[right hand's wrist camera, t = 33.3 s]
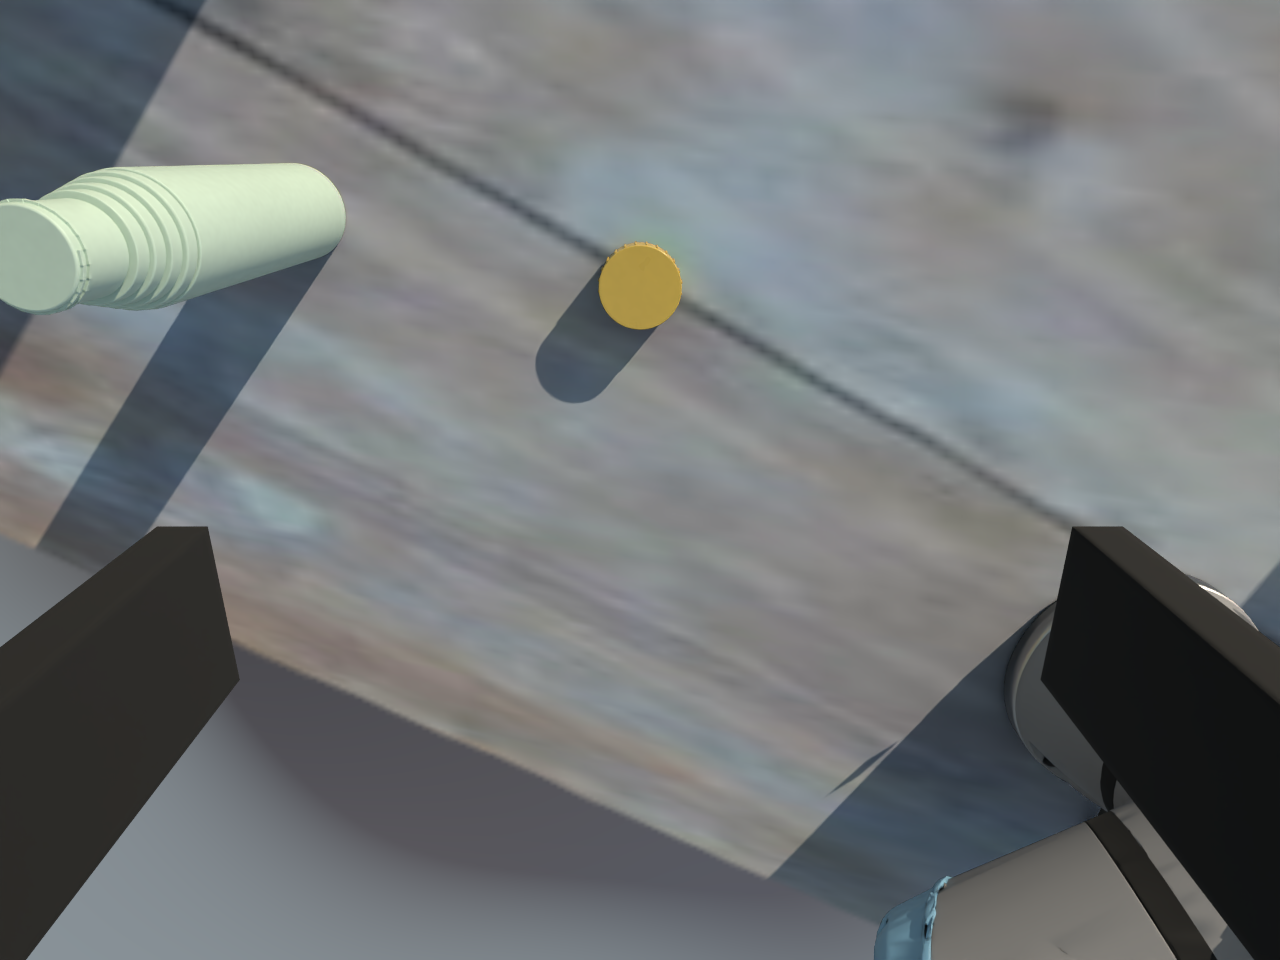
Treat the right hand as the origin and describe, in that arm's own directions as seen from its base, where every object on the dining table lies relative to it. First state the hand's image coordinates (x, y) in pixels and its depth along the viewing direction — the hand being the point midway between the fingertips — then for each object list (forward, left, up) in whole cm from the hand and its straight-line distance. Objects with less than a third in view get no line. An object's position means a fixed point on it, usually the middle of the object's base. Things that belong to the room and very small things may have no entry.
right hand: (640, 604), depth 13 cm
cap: (0, 0, -32) cm, 33 cm away
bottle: (+3, +18, -34) cm, 38 cm away
